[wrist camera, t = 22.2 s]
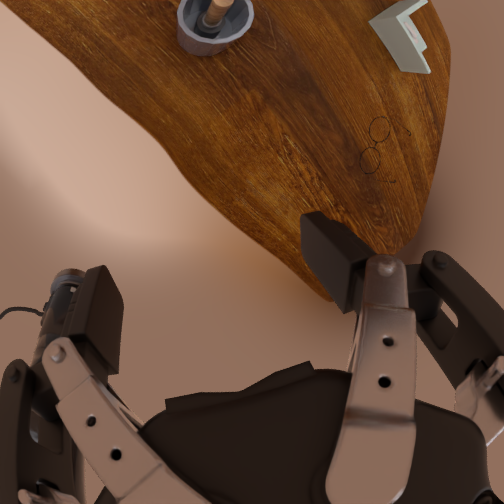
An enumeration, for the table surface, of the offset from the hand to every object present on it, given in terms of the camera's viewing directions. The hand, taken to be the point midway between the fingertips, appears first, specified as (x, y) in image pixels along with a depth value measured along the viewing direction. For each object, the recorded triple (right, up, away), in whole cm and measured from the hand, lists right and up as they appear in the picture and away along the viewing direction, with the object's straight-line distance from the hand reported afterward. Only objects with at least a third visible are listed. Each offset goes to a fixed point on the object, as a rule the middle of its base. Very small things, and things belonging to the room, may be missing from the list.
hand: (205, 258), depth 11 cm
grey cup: (-5, +31, +18) cm, 36 cm away
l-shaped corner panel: (+30, +42, +22) cm, 57 cm away
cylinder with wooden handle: (-4, +31, +17) cm, 36 cm away
